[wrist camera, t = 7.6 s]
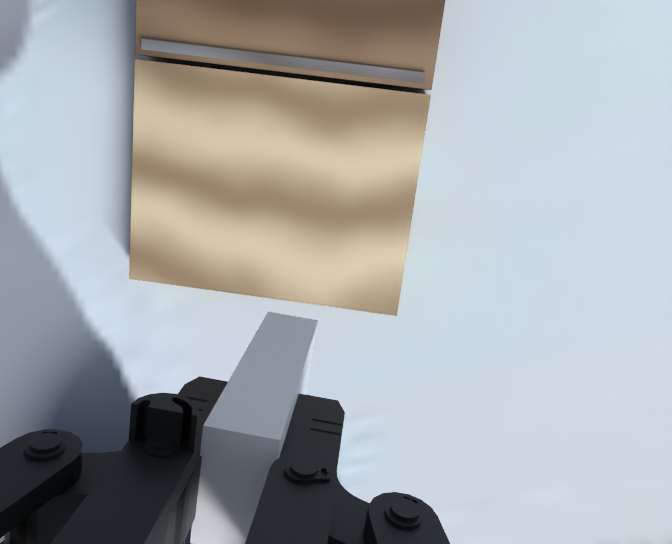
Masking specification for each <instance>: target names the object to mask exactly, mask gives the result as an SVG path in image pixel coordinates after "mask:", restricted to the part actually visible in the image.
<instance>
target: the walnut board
mask: <svg viewBox="0 0 672 544" xmlns="http://www.w3.org/2000/svg"><path fill="white" fill-rule="evenodd" d="M444 5H445V0H136V35H135V54H139V55H144V56H150V57H158V58H167V59H175V60H183V61H192V62H200V63H208V64H216V65H225V66H233V67H241V68H250V69H258V70H266V71H274V72H283V73H291V74H299V75H308V76H316V77H324V78H332V79H341V80H349V81H357V82H366V83H374V84H382V85H390V86H399V87H407V88H415V89H424V90H431V89H432V83H433V76H434V70H435V63H436V57H437V50H438V44H439V37H440V31H441V24H442V18H443V11H444Z"/></svg>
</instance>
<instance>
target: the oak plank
mask: <svg viewBox="0 0 672 544" xmlns="http://www.w3.org/2000/svg"><path fill="white" fill-rule="evenodd" d="M430 96H431V95H428V94H419V93H411V92H403V91H395V90H386V89H378V88H370V87H361V86H353V85H345V84H337V83H328V82H320V81H312V80H304V79H295V78H287V77H279V76H271V75H262V74H254V73H246V72H238V71H229V70H221V69H213V68H204V67H196V66H188V65H180V64H171V63H163V62H155V61H147V60H138V59H135V77H134V116H133V154H132V193H131V232H130V271H129V279H135V280H142V281H149V282H157V283H164V284H171V285H178V286H186V287H193V288H200V289H207V290H214V291H222V292H229V293H236V294H243V295H251V296H258V297H265V298H272V299H279V300H287V301H294V302H301V303H308V304H316V305H323V306H330V307H337V308H344V309H352V310H359V311H366V312H373V313H381V314H388V315H395V316H397V310H398V304H399V297H400V291H401V284H402V278H403V271H404V265H405V258H406V252H407V245H408V239H409V232H410V226H411V219H412V213H413V206H414V200H415V193H416V187H417V180H418V174H419V167H420V161H421V154H422V148H423V141H424V135H425V128H426V122H427V115H428V109H429V102H430Z"/></svg>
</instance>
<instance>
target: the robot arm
mask: <svg viewBox="0 0 672 544" xmlns="http://www.w3.org/2000/svg"><path fill="white" fill-rule="evenodd" d="M317 325H318V321H317V320H312V319H306V318H301V317H295V316H290V315H284V314H279V313H273V312H268V313H267V315H266V316H265V318H264V320H263V322H262V323H261V325H260V327H259V329H258V330H257V332H256V334H255V336H254V337H253V339H252V341H251V343H250V344H249V346H248V348H247V350H246V352H245V353H244V355H243V357H242V359H241V360H240V362H239V364H238V366H237V367H236V369H235V371H234V373H233V374H232V376H231V378H230V380H229V381H228V382H226V381H221V380H215V379H210V378H205V377H198V378H196V379H194V380H192V381H190V382H188V383H186V384H185V385H184V386H183V388H182V389H181V390H180V392H179V393H178V394H170V393H157V394H149V395H146V396H143V397H140V398H138V399H137V400H135V401H134V402H133V403H131V416H130V430H129V441H128V442H127V443H126V445H125V446H124V447H123V449H122V450H121V451H117V452H108V453H83V443H82V442H81V440H80V438H79V437H77V436H76V435H74V434H72V433H70V432H66V431H61V430H53V429H52V430H50V429H48V430H41V431H35V432H31V433H28V434H25V435H23V436H21V437H18V438H16V439H15V440H13V441H11V442H9V443H8V444H6V445H4V446H3V447H1V448H0V538H1V537H2V536H4V535H5V540H4V541H3V542H1V543H0V544H185V538H186V536H187V534H188V532H189V530H190V528H191V525H192V531H191V541H190V543H192V544H450V543H449V540H448V538H447V536H446V534H445V532H444V529H443V527H442V525H441V523H440V521H439V518H438V516H437V515H436V513H435V512H434V511H433V509H432V508H431V507H430V506H429V505H427V504H426V503H425V502H423V501H422V500H420V499H418V498H416V497H413V496H411V495H408V494H403V493H397V492H392V493H383V494H381V495H379V496H377V497H374V498H373V500H372V501H371V503H367V502H365V501H363V500H361V499H359V498H357V497H355V496H353V495H352V494H350V493H349V492H348V491H346V490H345V489H344V488H343V486H342V485H341V484H340V482H339V480H338V478H337V464H338V457H339V450H340V443H341V435H342V429H343V421H344V414H345V412H344V410H343V409H342V407H341V405H340V403H339V402H338V401H337V400H331V399H326V398H321V397H315V396H310V395H306V393H307V387H308V381H309V374H310V368H311V362H312V356H313V350H314V344H315V337H316V331H317Z"/></svg>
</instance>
